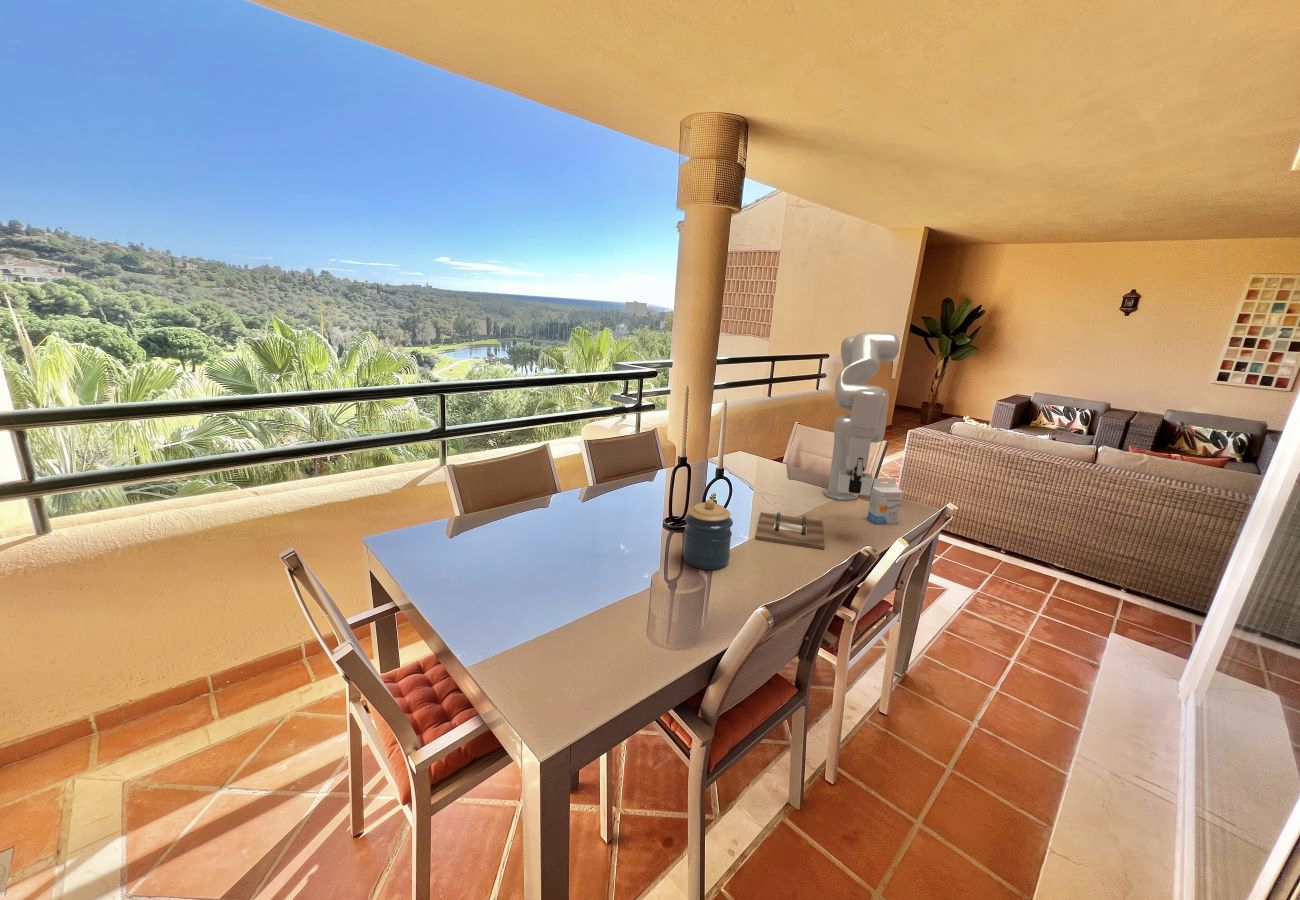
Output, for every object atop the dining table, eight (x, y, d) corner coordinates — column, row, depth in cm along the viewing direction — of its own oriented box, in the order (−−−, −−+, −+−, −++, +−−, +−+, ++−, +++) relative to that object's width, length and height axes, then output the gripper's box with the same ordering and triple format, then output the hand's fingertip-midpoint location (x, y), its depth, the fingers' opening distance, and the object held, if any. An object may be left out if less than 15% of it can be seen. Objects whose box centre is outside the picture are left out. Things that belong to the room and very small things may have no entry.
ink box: (874, 524, 167) (881, 482, 163) (866, 518, 172) (873, 478, 168) (898, 524, 168) (905, 482, 164) (889, 518, 173) (896, 477, 169)
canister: (728, 573, 132) (733, 511, 127) (679, 567, 134) (683, 506, 130) (730, 551, 144) (735, 494, 140) (685, 546, 147) (689, 489, 142)
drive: (837, 487, 156) (839, 470, 154) (868, 490, 153) (871, 473, 152) (838, 491, 152) (840, 474, 150) (870, 495, 149) (872, 478, 148)
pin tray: (760, 515, 171) (761, 503, 170) (821, 523, 166) (823, 512, 165) (755, 539, 153) (756, 526, 152) (824, 549, 148) (825, 536, 146)
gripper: (846, 424, 156) (838, 479, 161) (851, 437, 140) (842, 498, 145) (872, 426, 154) (863, 482, 159) (880, 440, 138) (870, 501, 143)
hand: (853, 489), depth 152 cm, fingers closed on drive, 4 cm apart
